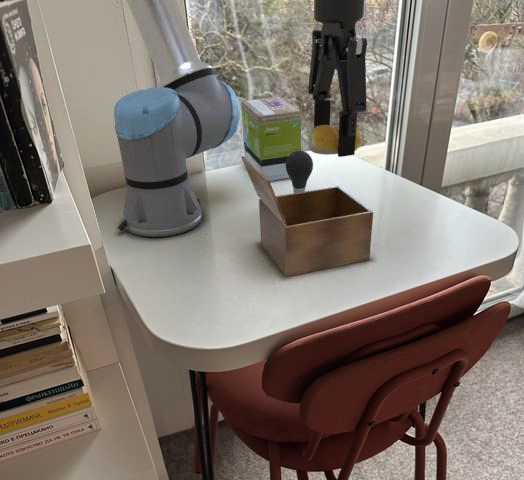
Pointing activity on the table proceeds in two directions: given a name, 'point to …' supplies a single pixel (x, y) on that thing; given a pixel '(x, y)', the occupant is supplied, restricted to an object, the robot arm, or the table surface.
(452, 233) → the table surface
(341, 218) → the carton
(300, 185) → the light bulb
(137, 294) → the table surface
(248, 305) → the table surface
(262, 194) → the flap
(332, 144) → the bread roll
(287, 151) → the tea box
